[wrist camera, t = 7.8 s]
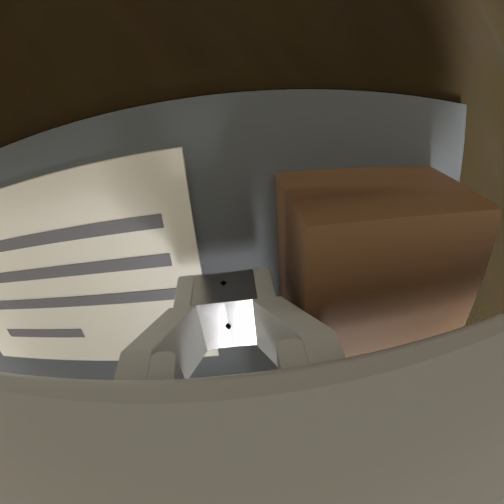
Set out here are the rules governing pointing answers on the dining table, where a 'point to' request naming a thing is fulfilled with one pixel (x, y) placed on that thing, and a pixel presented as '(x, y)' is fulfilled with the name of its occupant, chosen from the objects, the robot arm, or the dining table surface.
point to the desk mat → (242, 173)
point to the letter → (93, 255)
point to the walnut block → (382, 251)
